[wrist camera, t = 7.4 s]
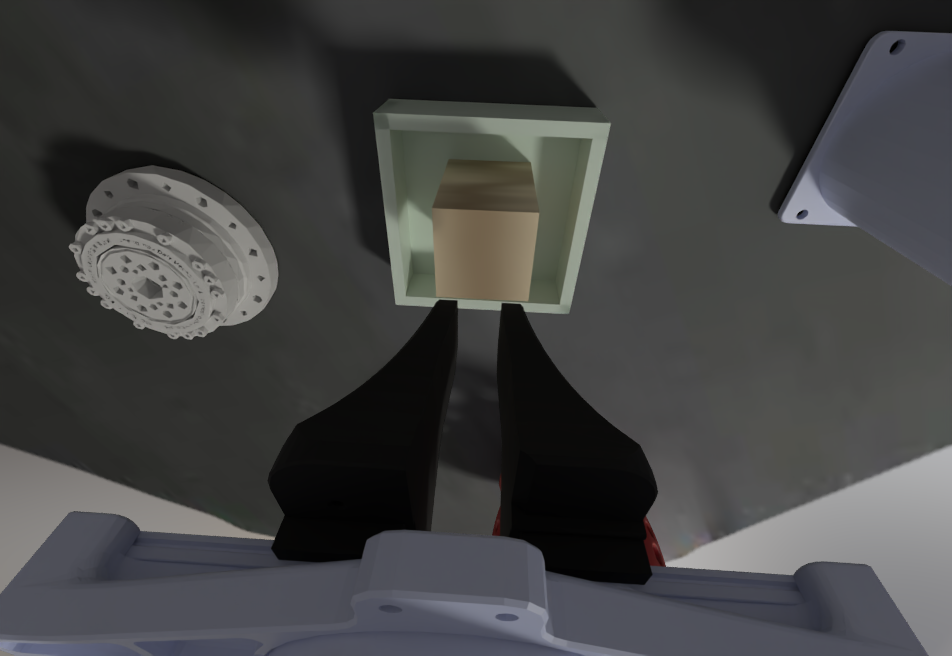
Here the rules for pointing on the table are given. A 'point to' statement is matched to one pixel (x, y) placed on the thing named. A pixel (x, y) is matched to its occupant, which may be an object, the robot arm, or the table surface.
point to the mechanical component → (173, 253)
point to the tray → (491, 139)
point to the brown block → (485, 230)
